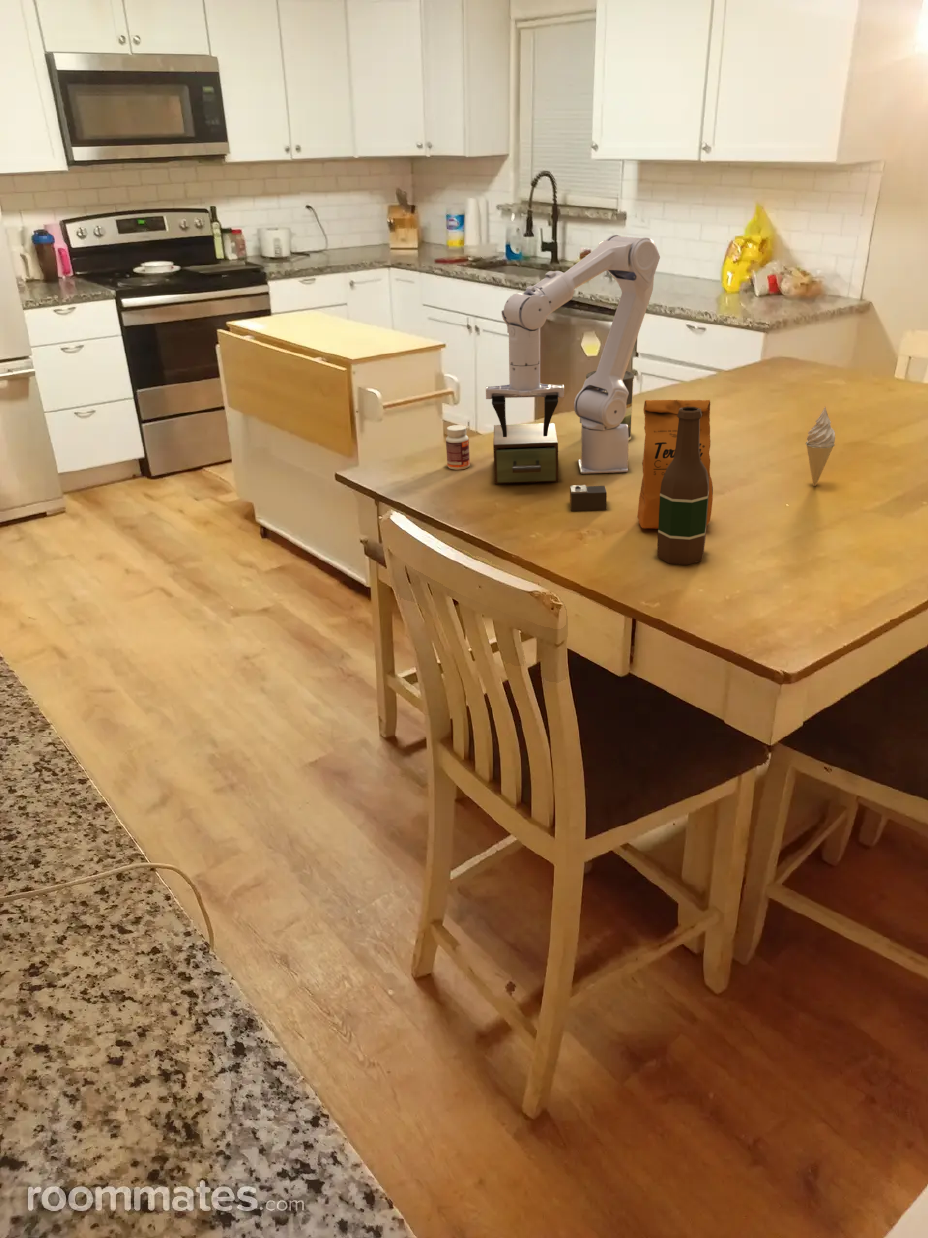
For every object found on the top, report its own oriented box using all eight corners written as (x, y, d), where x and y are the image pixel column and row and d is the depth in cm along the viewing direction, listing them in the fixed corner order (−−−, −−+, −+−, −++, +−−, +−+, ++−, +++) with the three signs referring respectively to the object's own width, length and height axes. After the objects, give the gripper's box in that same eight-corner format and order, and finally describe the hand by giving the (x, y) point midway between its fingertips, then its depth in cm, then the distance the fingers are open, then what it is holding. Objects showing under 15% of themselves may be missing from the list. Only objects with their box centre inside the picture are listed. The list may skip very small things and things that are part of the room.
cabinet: (558, 481, 181) (558, 442, 178) (494, 484, 182) (493, 444, 178) (554, 460, 193) (554, 422, 190) (495, 462, 194) (493, 424, 190)
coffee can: (626, 446, 199) (628, 381, 193) (580, 443, 203) (580, 379, 196) (636, 432, 208) (638, 369, 201) (592, 429, 211) (593, 368, 205)
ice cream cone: (828, 481, 174) (839, 403, 167) (828, 490, 169) (840, 410, 162) (800, 480, 175) (810, 402, 168) (800, 489, 171) (810, 409, 164)
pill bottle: (467, 470, 191) (465, 430, 187) (445, 469, 191) (442, 430, 188) (471, 462, 195) (470, 424, 191) (450, 462, 196) (447, 424, 192)
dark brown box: (604, 502, 170) (604, 481, 168) (606, 509, 167) (606, 488, 165) (569, 504, 170) (569, 483, 169) (571, 511, 167) (571, 489, 165)
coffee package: (709, 538, 153) (719, 407, 143) (634, 534, 156) (639, 406, 146) (711, 516, 162) (721, 391, 151) (639, 512, 165) (644, 390, 154)
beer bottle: (650, 548, 151) (657, 403, 140) (696, 544, 151) (707, 400, 140) (663, 567, 144) (671, 417, 133) (711, 563, 144) (724, 413, 133)
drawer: (556, 488, 175) (556, 457, 172) (497, 490, 176) (496, 459, 173) (552, 460, 191) (552, 430, 188) (497, 462, 191) (496, 432, 188)
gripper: (484, 368, 165) (486, 441, 172) (565, 366, 164) (564, 440, 171) (485, 360, 172) (487, 431, 178) (563, 358, 171) (562, 429, 177)
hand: (525, 435), depth 175 cm, fingers open, 7 cm apart
